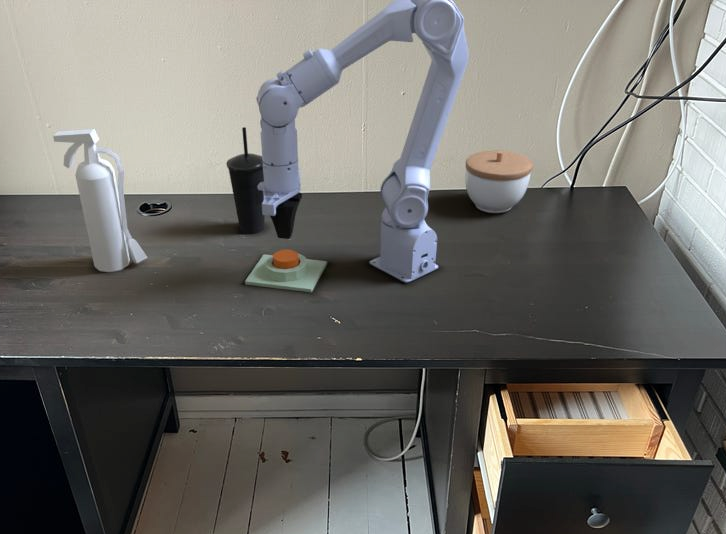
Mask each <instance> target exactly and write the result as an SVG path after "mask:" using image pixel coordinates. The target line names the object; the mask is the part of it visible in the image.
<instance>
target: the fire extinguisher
mask: <svg viewBox="0 0 726 534" xmlns="http://www.w3.org/2000/svg"><path fill="white" fill-rule="evenodd" d="M52 138H53V141H54V143H55V142H56V143H70V144H72V145H70V146H69V147H68V149H67V150H66V152H65V154H64V155H63V166H64V167H65V168H67V169H70V168H72V167H73V166H74V161H75V155H76V153H77V151H78V150H79V148H80V147H81V146H82V145H83V153H84V157H83V158H84V160H83V161H82V162H80V163H78V164H77V168H76V171H75V174H74V175H75V180H76V185H77V189H78V190H77V191H78V195H79V200H80V204H81V209H82V214H83V219H84V223H85V228H86V233H87V238H88V242H89V243H88V244H89V247H90V252H91V256H92V262H93V267H94V268H95V269H96V270H98V271H99V272H104V273H105V272H106V273H113V272H118V271H122V270H124V269H125V268H126V267H128V266H129V265H130V261H131V260H132V261H133V262H134V263H135V264H138V263H141V262H142V261H144V260H146V259H149V258H148V257H149V256H148V255H146V253H145V252H144V249H142V247H141V246H140V244H139V242H138V241H137V239H134V238H133V237H132V235H131V233H130V230H129V229H128V228H129V227H128V221H127V212H126V202H125V201H126V200H125V192H124V182H125V181H124V180H125V179H124V178H125V170H124V166H123V164H122V161H121V158H120V155H119V154H117V153H115V152H114V151H112V150H111V149H109V148H107V147H102V146H101V147H100V146H99V147H98V146H97V145H96V144H97V142H99V141H100V137H99V136H98V133H97V131H96V129H95V128H87V129H73V130H72V129H71V130H58V131H57V132H56V133H55V134H53V136H52ZM100 154H106V155H108V156H109V157H111V158H113V159H114V160H115V164H116V167H117V171H118V172H117V173H118V175H117V177H118V178H116V170H115V168H114V166H113V165H112V164H111V162H110V161H108V160H106V159H103V158H101V156H100ZM130 257H131V259H130Z"/></svg>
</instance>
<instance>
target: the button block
mask: <svg viewBox="0 0 726 534" xmlns="http://www.w3.org/2000/svg"><path fill="white" fill-rule="evenodd" d="M273 255H274V254H263V255H262V256H261V257H260V259H259V260H258V262H257V263H256V264H255V266H254V267H253V269H252V270H251V272H250V273H249V274H248V276H247V278H246V279H245V280H244V285H246V286H247V285H248V286H255V287H264V288H273V289H281V290H287V291H295V292H296V291H297V292H305V293H313V291H314V290H315V287H316V286H317V283H318V282H319V279H320V278H321V276H322V274H323V273H324V270H325V269H326V267H327V265H328V261H325V260H321V259H320V260H319V259H309V258H307V257H306V256H305V255H303V254H300V253H298V259H299V264H298V266H296V267H294V268H290V269H278V268H276V267H274V264H273Z"/></svg>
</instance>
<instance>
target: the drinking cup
mask: <svg viewBox="0 0 726 534" xmlns="http://www.w3.org/2000/svg"><path fill="white" fill-rule="evenodd" d="M241 130H242V142H243V143H242V144H243V153H241V154H237V155H235V156H233V157H231V158H229V159H228V160H226V163H225V164H226V168H227V169H228V173H229V179H230V184H231V190H232V195H233V200H234V204H235V210H236V216H237V220H238V227H239V231H240V232H241V233H243V234H246V235H256V234H259V233H261V232H263V231H264V230H265V223H266V221H265V220H266V219H265V218H266V217H265V216H266V215H263V213H262V203H263V200H264V193H263V191H262V190H258V185H259V183H260V182H264V173H263V160H262V155H260V154H255V153H249V149H248V137H247V127H245V126H243V127H242V128H241Z"/></svg>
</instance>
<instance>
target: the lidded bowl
mask: <svg viewBox="0 0 726 534" xmlns="http://www.w3.org/2000/svg"><path fill="white" fill-rule="evenodd" d="M533 166H534V164H533V161H532V160H531V159H530V158H529V156H526V155H524V154H521V153H519V152H515V151H510V150H498V149H497V150H484V151H479V152H476V153H473V154H470V155H469V156H467V158H466V160H465V173H464V174H465V176H464V180H465V182H464V183H465V190H466V192H467V196H468V198H469V199H470V201H471V202H472V203H473V204H474V205H475V207H476V209H478V210H480V211H482V212H484V213H485V212H486V213H491V214H500V213H506V212H508V211H510V210H511V209H513V207H515V205H517V204H518V203H519V202H520V201H521V200H522V199H523V197H524V196H525V194H526V193H527V190H528V188H529V184H530V179H531V175H532V171H533Z"/></svg>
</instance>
